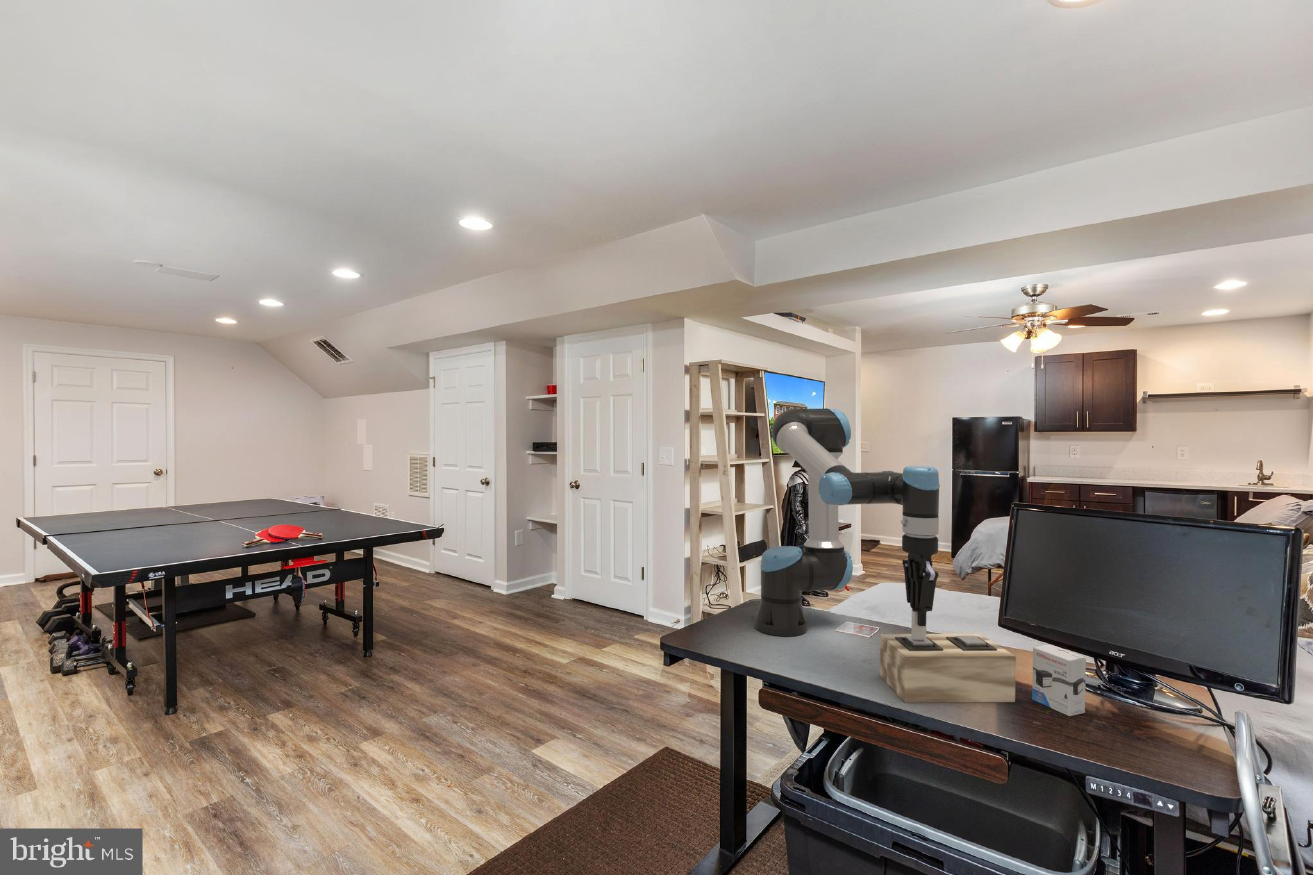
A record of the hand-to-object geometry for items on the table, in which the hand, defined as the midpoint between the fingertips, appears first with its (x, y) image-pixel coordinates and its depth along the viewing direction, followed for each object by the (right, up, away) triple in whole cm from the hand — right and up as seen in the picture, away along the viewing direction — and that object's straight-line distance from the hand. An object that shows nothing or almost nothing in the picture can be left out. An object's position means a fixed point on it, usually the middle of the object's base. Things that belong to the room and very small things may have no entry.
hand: (918, 638), depth 137 cm
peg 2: (+12, -10, 0) cm, 15 cm away
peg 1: (0, -10, 0) cm, 10 cm away
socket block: (+6, -12, 0) cm, 13 cm away
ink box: (+26, -12, -8) cm, 30 cm away
